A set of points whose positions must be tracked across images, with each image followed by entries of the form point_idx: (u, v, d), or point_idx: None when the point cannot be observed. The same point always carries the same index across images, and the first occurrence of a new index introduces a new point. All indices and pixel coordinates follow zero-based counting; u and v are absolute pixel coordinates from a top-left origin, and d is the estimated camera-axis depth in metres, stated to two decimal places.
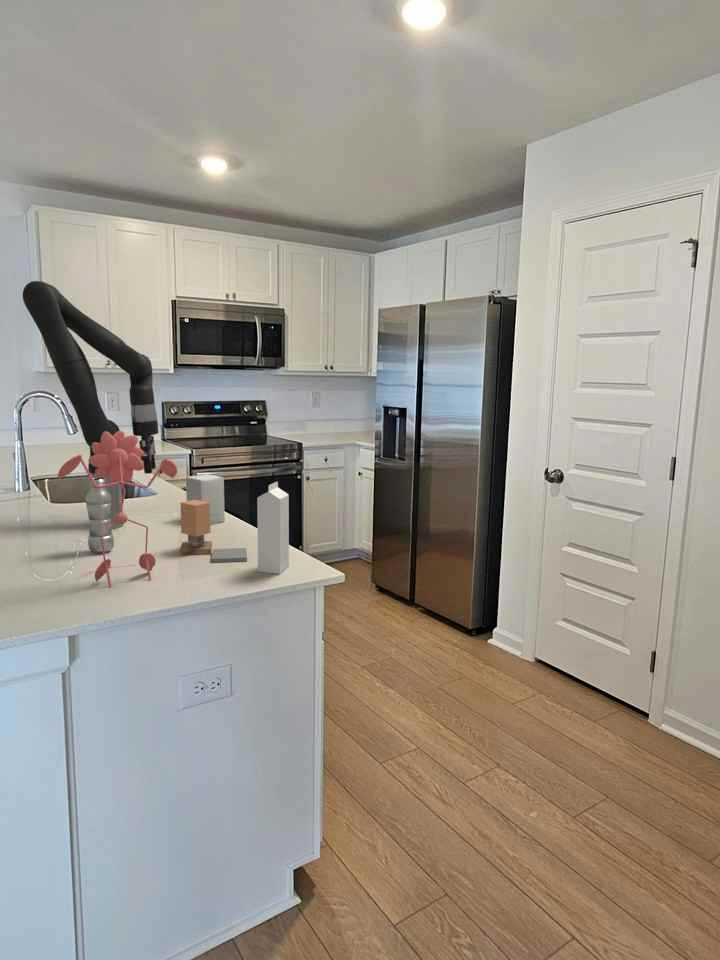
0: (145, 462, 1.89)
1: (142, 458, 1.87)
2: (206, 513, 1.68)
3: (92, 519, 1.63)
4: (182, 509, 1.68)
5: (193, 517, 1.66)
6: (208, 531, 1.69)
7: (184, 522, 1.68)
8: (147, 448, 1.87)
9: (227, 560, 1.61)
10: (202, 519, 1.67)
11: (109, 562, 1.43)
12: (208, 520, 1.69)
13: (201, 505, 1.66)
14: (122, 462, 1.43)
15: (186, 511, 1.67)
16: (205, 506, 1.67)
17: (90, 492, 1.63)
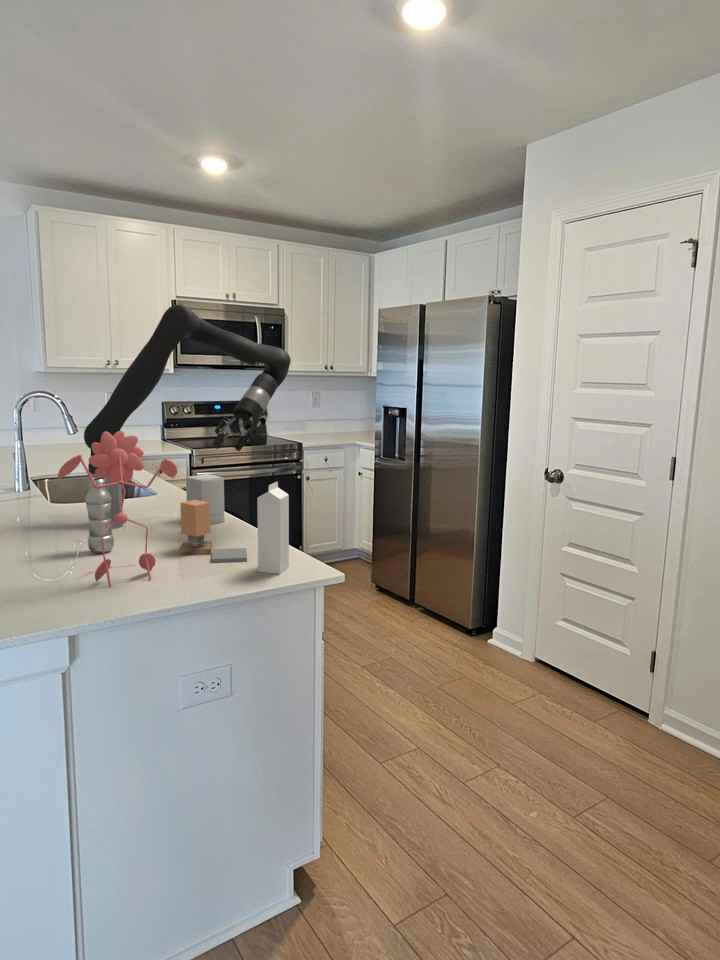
0: (244, 438, 1.74)
1: (250, 433, 1.73)
2: (206, 513, 1.68)
3: (92, 519, 1.63)
4: (182, 509, 1.68)
5: (193, 517, 1.66)
6: (208, 531, 1.69)
7: (184, 522, 1.68)
8: (258, 429, 1.76)
9: (227, 560, 1.61)
10: (202, 519, 1.67)
11: (109, 562, 1.43)
12: (208, 520, 1.69)
13: (201, 505, 1.66)
14: (122, 462, 1.43)
15: (186, 511, 1.67)
16: (205, 506, 1.67)
17: (90, 492, 1.63)
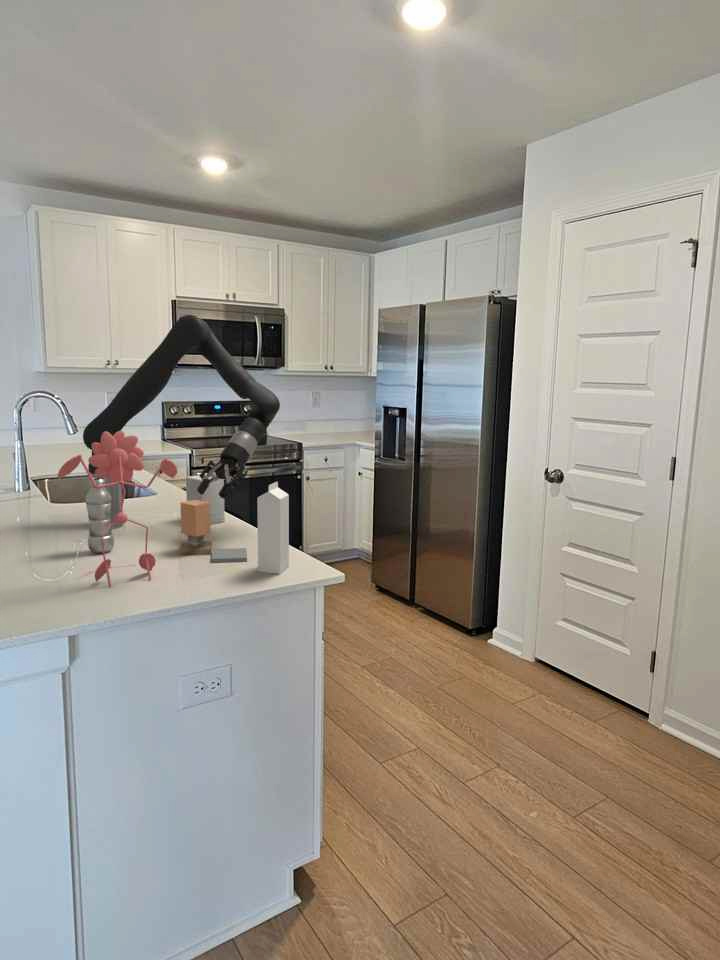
0: (229, 486, 1.71)
1: (236, 481, 1.70)
2: (206, 513, 1.68)
3: (92, 519, 1.63)
4: (182, 509, 1.68)
5: (193, 517, 1.66)
6: (208, 531, 1.69)
7: (184, 522, 1.68)
8: (244, 476, 1.73)
9: (227, 560, 1.61)
10: (202, 519, 1.67)
11: (109, 562, 1.43)
12: (208, 520, 1.69)
13: (201, 505, 1.66)
14: (122, 462, 1.43)
15: (186, 511, 1.67)
16: (205, 506, 1.67)
17: (90, 492, 1.63)
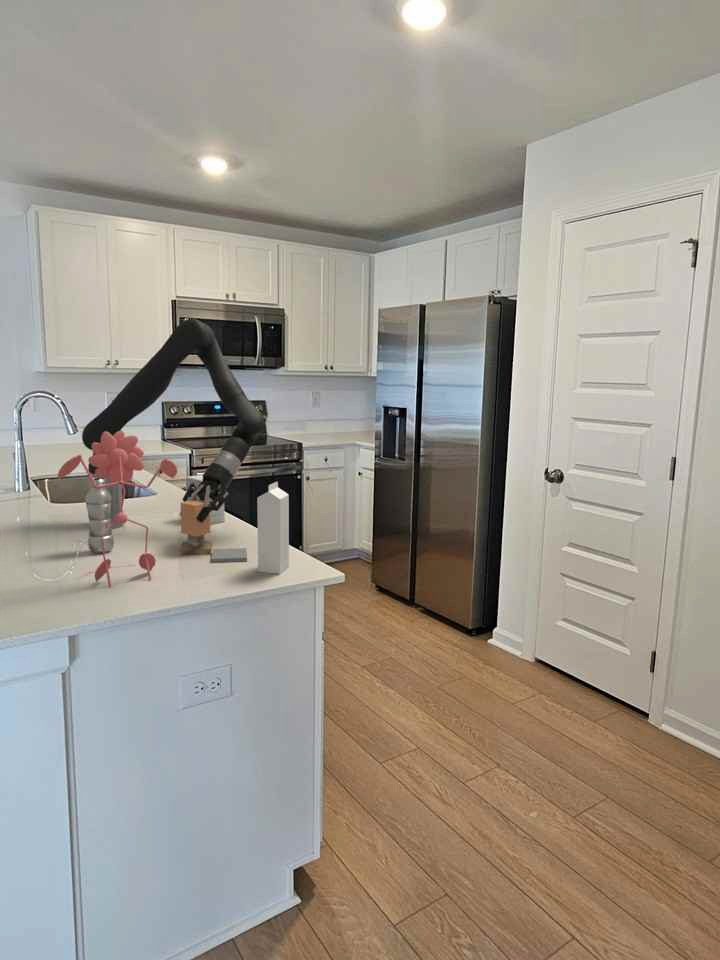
0: (207, 509, 1.66)
1: (214, 505, 1.66)
2: None
3: (92, 519, 1.63)
4: (182, 508, 1.68)
5: (193, 517, 1.66)
6: (208, 531, 1.69)
7: (184, 522, 1.68)
8: (224, 500, 1.68)
9: (227, 560, 1.61)
10: None
11: (109, 562, 1.43)
12: (208, 520, 1.69)
13: (201, 505, 1.66)
14: (122, 462, 1.43)
15: (186, 511, 1.67)
16: None
17: (90, 492, 1.63)
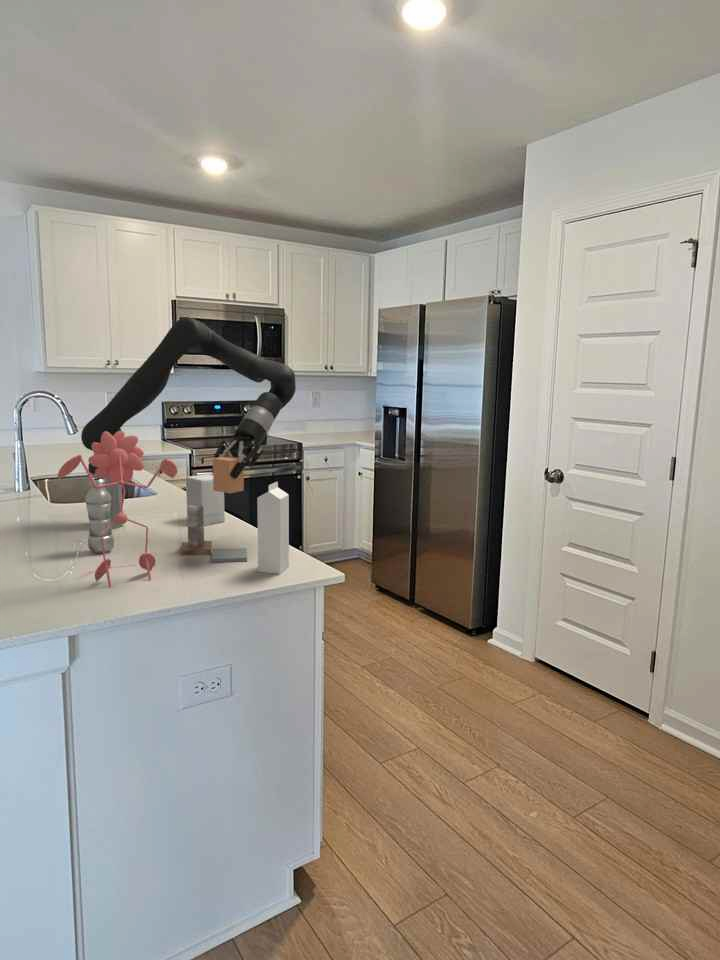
0: (241, 465, 1.59)
1: (248, 460, 1.59)
2: None
3: (92, 519, 1.63)
4: (214, 465, 1.60)
5: (226, 473, 1.58)
6: (241, 488, 1.62)
7: (217, 479, 1.61)
8: (258, 456, 1.61)
9: (227, 560, 1.61)
10: None
11: (109, 562, 1.43)
12: (241, 477, 1.62)
13: (235, 460, 1.59)
14: (122, 462, 1.43)
15: (219, 467, 1.60)
16: None
17: (90, 492, 1.63)
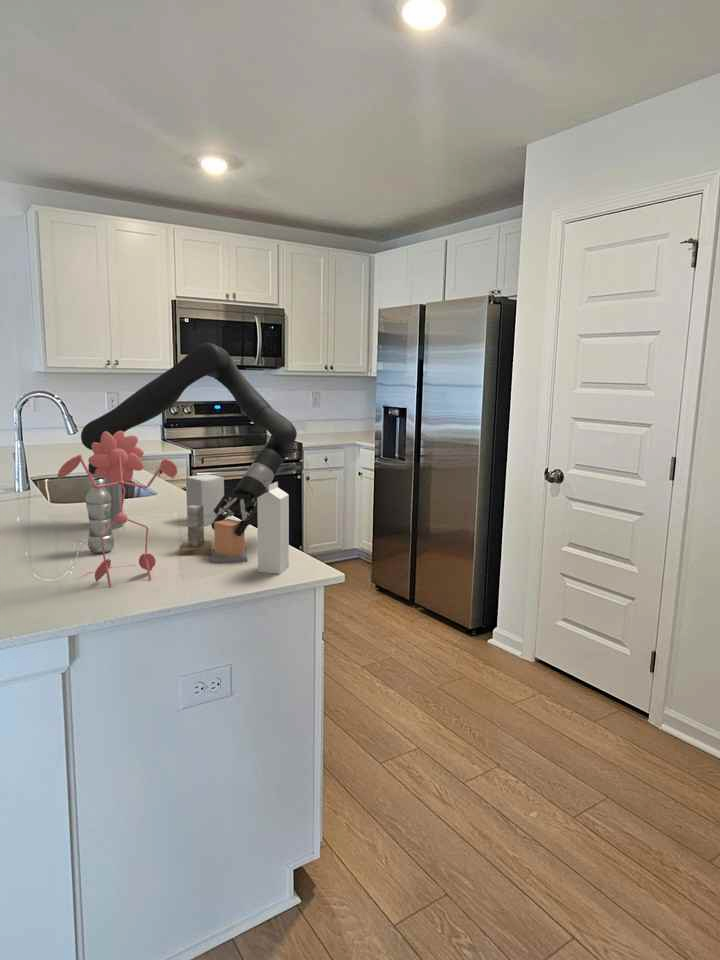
0: (245, 523, 1.62)
1: (252, 518, 1.61)
2: None
3: (92, 519, 1.63)
4: (216, 529, 1.63)
5: (228, 537, 1.61)
6: (242, 551, 1.65)
7: (218, 542, 1.64)
8: None
9: (227, 560, 1.61)
10: (237, 539, 1.63)
11: (109, 562, 1.43)
12: (242, 540, 1.65)
13: (236, 525, 1.62)
14: (122, 462, 1.43)
15: (220, 531, 1.62)
16: None
17: (90, 492, 1.63)
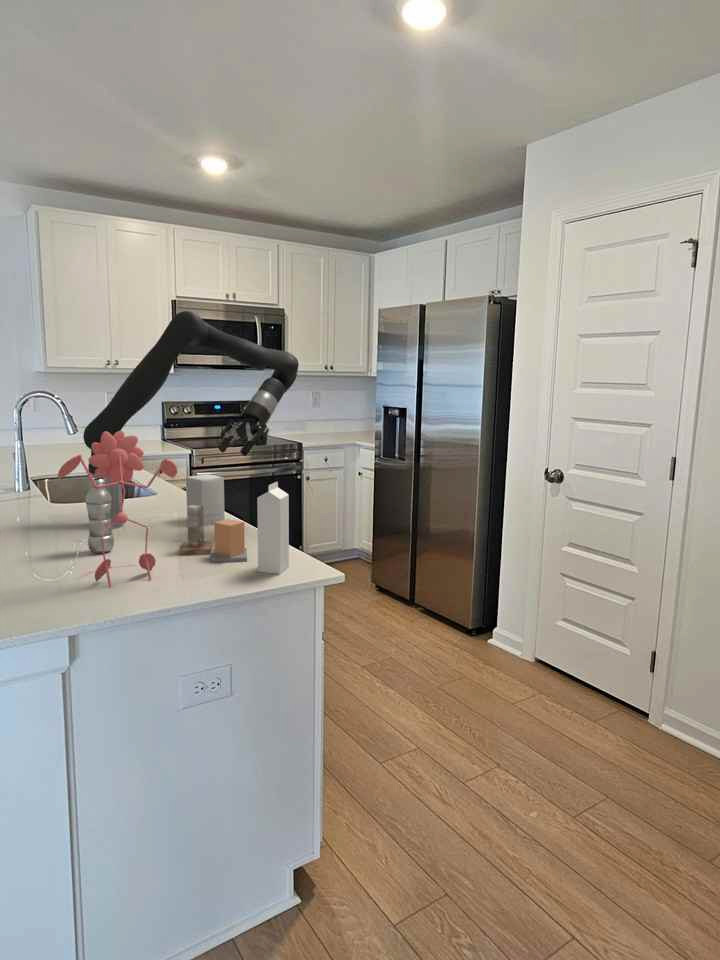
0: (251, 443, 1.72)
1: (257, 439, 1.72)
2: (240, 533, 1.64)
3: (92, 519, 1.63)
4: (216, 529, 1.63)
5: (228, 537, 1.61)
6: (242, 551, 1.65)
7: (218, 542, 1.64)
8: (265, 435, 1.74)
9: (227, 560, 1.61)
10: (237, 539, 1.63)
11: (109, 562, 1.43)
12: (242, 540, 1.65)
13: (236, 525, 1.62)
14: (122, 462, 1.43)
15: (220, 531, 1.62)
16: (240, 526, 1.63)
17: (90, 492, 1.63)
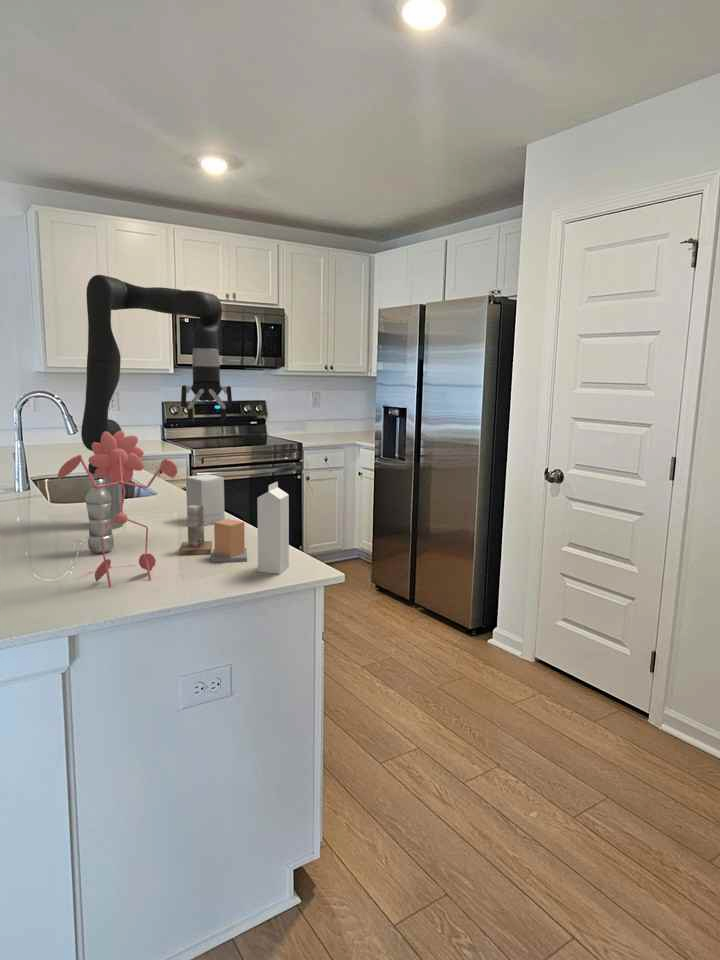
0: (225, 409, 1.80)
1: None
2: (240, 533, 1.64)
3: (92, 519, 1.63)
4: (216, 529, 1.63)
5: (228, 537, 1.61)
6: (242, 551, 1.65)
7: (218, 542, 1.64)
8: None
9: (227, 560, 1.61)
10: (237, 539, 1.63)
11: (109, 562, 1.43)
12: (242, 540, 1.65)
13: (236, 525, 1.62)
14: (122, 462, 1.43)
15: (220, 531, 1.62)
16: (240, 526, 1.63)
17: (90, 492, 1.63)
